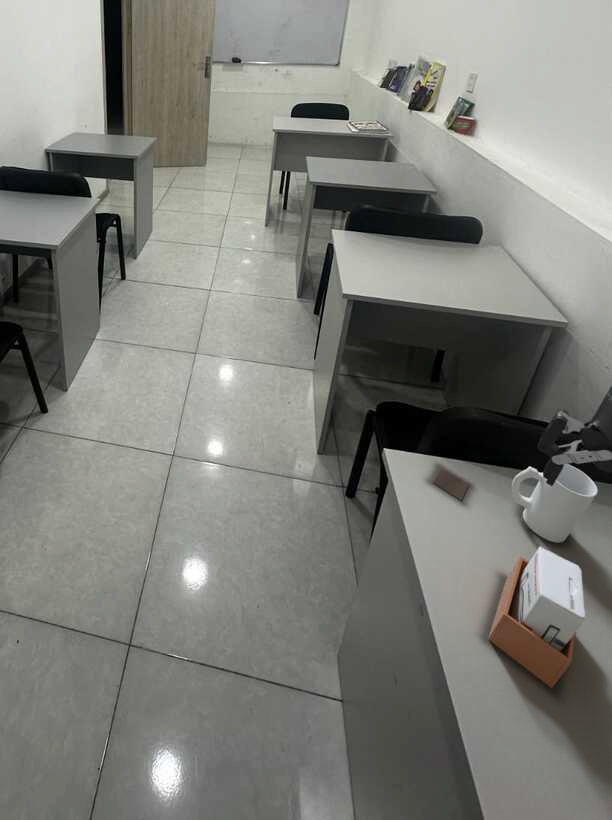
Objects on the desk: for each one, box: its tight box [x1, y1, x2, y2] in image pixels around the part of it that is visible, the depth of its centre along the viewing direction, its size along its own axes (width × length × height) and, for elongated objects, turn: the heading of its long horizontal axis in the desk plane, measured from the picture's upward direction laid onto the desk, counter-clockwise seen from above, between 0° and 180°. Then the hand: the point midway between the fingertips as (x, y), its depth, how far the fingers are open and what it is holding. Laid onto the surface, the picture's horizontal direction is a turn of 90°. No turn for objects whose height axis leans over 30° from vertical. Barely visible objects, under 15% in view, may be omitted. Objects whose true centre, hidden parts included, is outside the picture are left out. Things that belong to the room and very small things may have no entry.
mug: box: [511, 463, 599, 543], centre depth 83 cm, size 10×7×12 cm, turn 60°
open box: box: [487, 555, 577, 689], centre depth 68 cm, size 7×11×6 cm, turn 135°
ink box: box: [508, 546, 586, 652], centre depth 66 cm, size 9×5×12 cm, turn 145°
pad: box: [432, 467, 470, 502], centre depth 91 cm, size 5×5×1 cm
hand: (589, 503), depth 62 cm, fingers open, 8 cm apart
